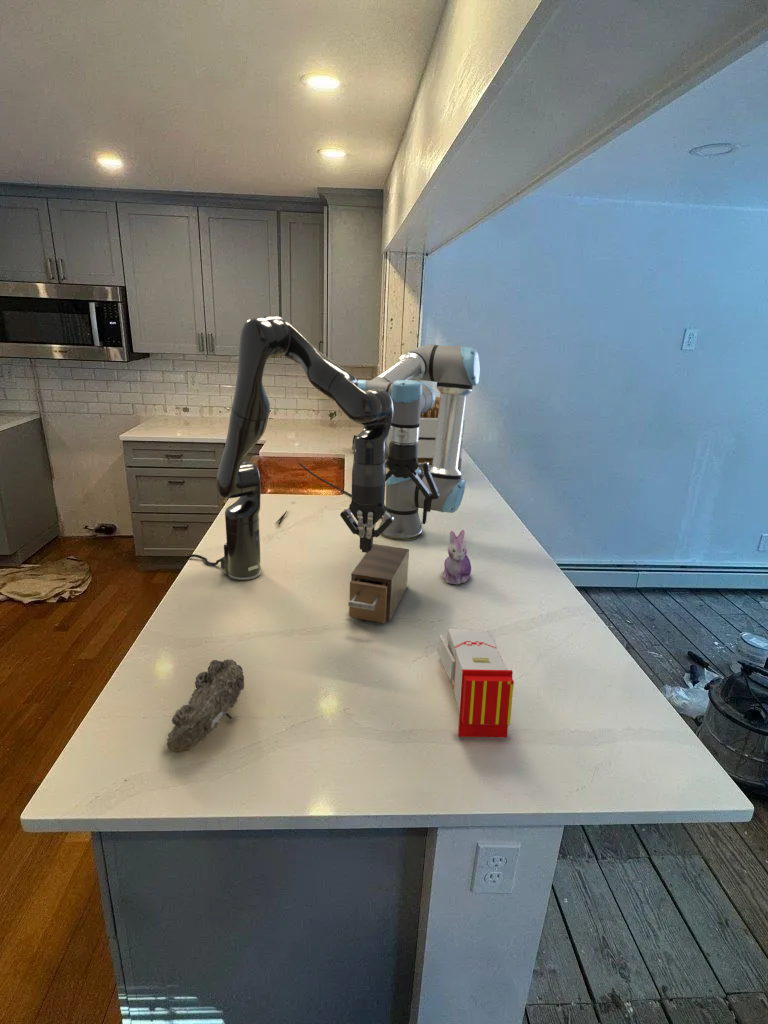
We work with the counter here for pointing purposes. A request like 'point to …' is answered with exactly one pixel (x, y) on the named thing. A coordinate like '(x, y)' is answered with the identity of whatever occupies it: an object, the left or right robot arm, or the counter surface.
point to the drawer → (368, 600)
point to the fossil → (206, 705)
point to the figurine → (457, 560)
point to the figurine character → (353, 442)
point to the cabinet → (385, 572)
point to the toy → (478, 682)
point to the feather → (281, 519)
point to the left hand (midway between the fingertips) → (366, 551)
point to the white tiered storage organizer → (427, 436)
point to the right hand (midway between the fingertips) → (399, 519)
